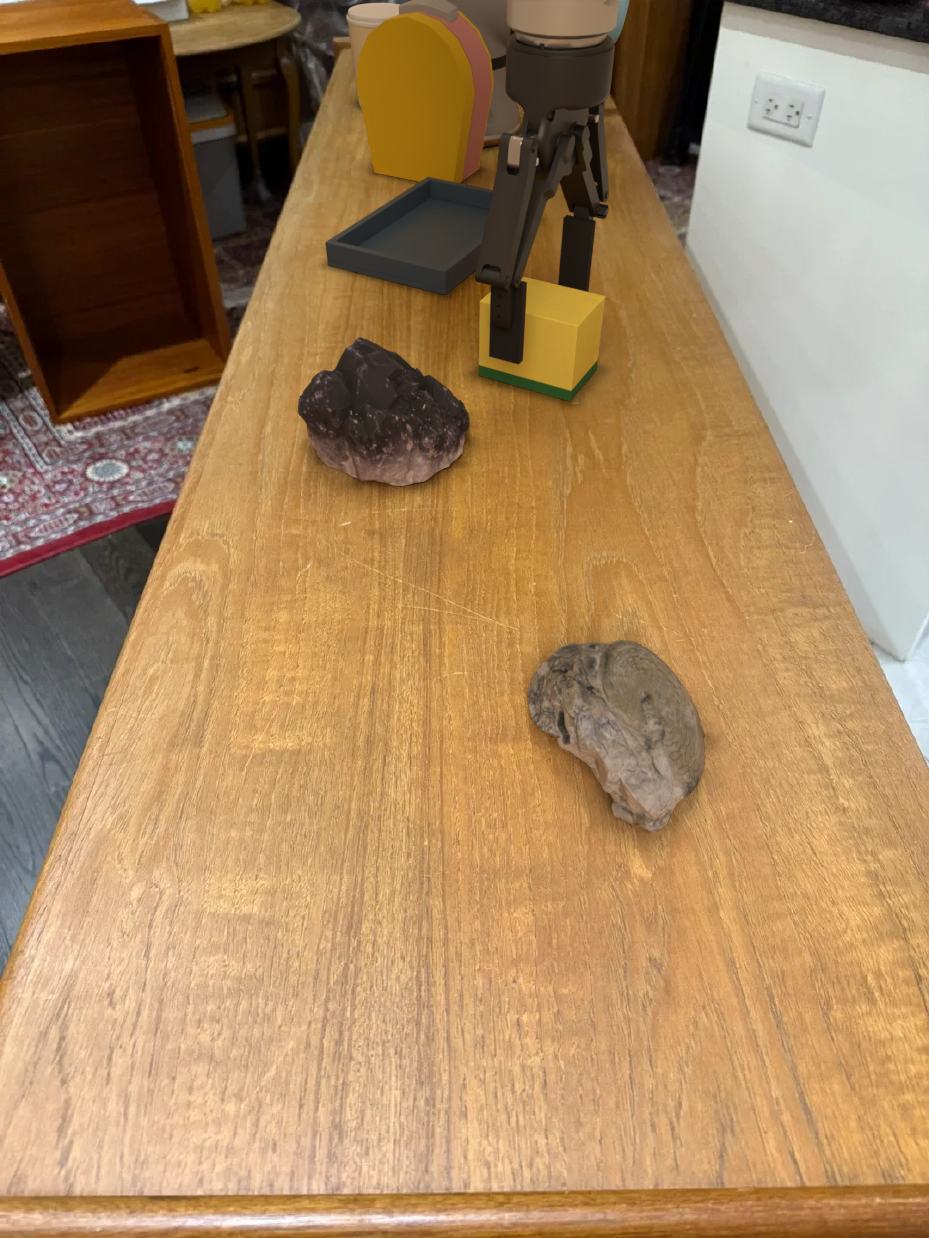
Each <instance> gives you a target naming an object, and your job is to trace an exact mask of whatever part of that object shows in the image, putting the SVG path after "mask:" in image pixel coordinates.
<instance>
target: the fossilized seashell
mask: <svg viewBox="0 0 929 1238" xmlns="http://www.w3.org/2000/svg"><path fill="white" fill-rule="evenodd" d="M526 694H527V704H528V709H529V715H530V718H531V721H532V722H533V723H534V725H535V726H536V727H537V728H538V729H539V730H540V731H542V732H543V733H545V734H547V735H549V736H551V737H554V738H556V744H557V745H558V747H559V748H560V749H562V750H564V751H567V752H568V753H571V754H572V755H573V756H575V757H576V758H578V759H579V760H581V761H582V762H584V763H585V764H586V765H587V767H589V768H590V769H591V772H592V773H593V775H594V777H595V780H596V781H597V782H598V783H599V784H600V786H601V789H602V790H603V792H604V793H608V794H609V795H610V797H611V798H612V803H611V806H610V807H611V813H612V815H613V817H615V818H617V819H621V820H622V821H623V822H625V823H628V824H630V825H632V826H633V827H636V828H641V829H644V830H645V831H648V832H650V833H656V832H660V831H662V829H663V828H664V827H665V826H666V825H667V824H668V823H669V821H670V819H671V817H672V814H673V812H674V810H675V809H676V807H677V805H678V804H679V802H680V801H682V800H683V799H685V798H687V797H689V796H690V795H691V794H693V792H694V791H695V789H696V788H697V787H698V785H699V783H700V781H701V779H702V778H701V777H702V775H703V771H704V767H705V763H706V762H705V761H706V746H705V732H704V729H703V725H702V724H701V719H700V714H699V712H698V709H697V706H696V705H695V703H694V701H693V699H692V697H691V696H690V694H689V692H688V691H687V689H686V688H685V686H684V684H683V683H682V682H681V680H680V679H679V677H678V676H677V674H676V672H674V671H673V670H672V668H670V667H669V665H668V664H667V663H666V662H665V661H664V660H663V659H662V658H660V656H658V655H657V654H656V653H655V652H653V650H651V649H649V648H648V647H647V646H645V645H643V644H641V643H638V642H636V641H632V640H624V639H618V640H615V641H612V642H609V643H606V642H596V641H593V642H591V641H590V642H584V643H575V642H570V643H568V644H566V645H563V646H559V647H557V648H556V649H555V650H554V651H553V652H552V653H551V655H550V656H549V657H548V659H547V660H544V661H543V662H541V663H540V664H539V667H538V669H537V670H536V671H535V672H534V673H533V675H532V676H531V679H530V683H529V685H528V686H527V687H526Z"/></svg>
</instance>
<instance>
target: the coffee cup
mask: <svg viewBox="0 0 929 1238" xmlns="http://www.w3.org/2000/svg"><path fill="white" fill-rule="evenodd" d="M399 5H401V4H399V3H394V2H393V3H392V2H370V3H369V2H368V3H361V4H356V5H353V6H351V7H349V8H348V10H347V14H346V18H345V19H346V22H347V26H348V36H349V42H350V51H351V57H352V59H351V60H352V65H353V73H354V79H355V87H356V94H357V101H358V105H359V106H360V107H361V102H360V97H359V92H358V87H357V70H358V57H359V54H360V52H361V50H362V48H363V45H364V43H365V41H366V39H367V36H368V34H369V33H370V32H372V31H373V30H374V29H375V28H376V27H378V26H379V25H380V24H381V23H383V22H384V21H385V20H387V19H389V18H392V17H394V16H396V15H399Z"/></svg>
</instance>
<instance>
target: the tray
mask: <svg viewBox="0 0 929 1238" xmlns="http://www.w3.org/2000/svg"><path fill="white" fill-rule="evenodd" d="M492 192H493V189H490V188H484V187H480V186H475V185H470V184H465V183H462V182H460V183H456V182H451V181H446V180H441V179H436V178H431V177H426V178H425V179H423V180H422V181H420V182H419V181H418V182H417V183H415V184H414V185H413V186H411V187H409V188H407V189H406V190H405V191H403V192H401V193H400V194H398V195H397V196H395V197H394V198H392V199H390V200H389V201H388V202H386V203H384V204H382V205H381V206H379V207H378V208H377V209H375V210H374V211H372V212H370V213H368V214H366V216H364V217H362V218H361V219H358V221H356V222H354V223H353V224H352V225H350V226H348V227H347V228H345V229H343V230H342V231H340V232H339V233H337V234H336V235H334V236H332V237H331V238H330V239H328V240H326V241H325V251H326V261H327V266H329V267H333V268H337V269H341V270H345V271H348V272H353V273H357V274H361V275H365V276H368V277H372V278H376V279H381V280H384V281H389V282H391V283H396V284H401V285H404V286H408V287H411V288H416V289H420V290H423V291H428V292H431V293H435V294H439V295H443V296H444V295H445V296H446V295H448V294H449V293H450V292H451V291H453V290H454V289H455V288H456V287H457V286H458V285H460V284H461V283H462V282H464V281H465V280H466V279H467V278H469V276H471V275H472V274H473V273H475V272H476V268H477V263H478V258H479V254H480V249H481V244H482V239H483V235H484V230H485V225H486V220H487V215H488V211H489V206H490V201H491V196H492Z"/></svg>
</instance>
